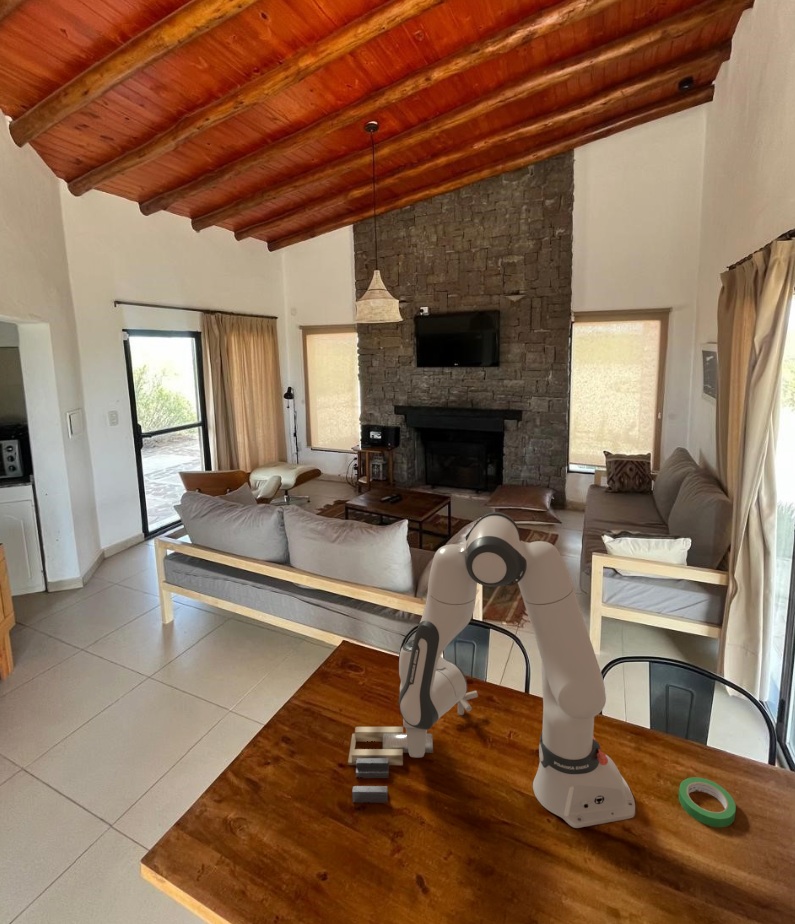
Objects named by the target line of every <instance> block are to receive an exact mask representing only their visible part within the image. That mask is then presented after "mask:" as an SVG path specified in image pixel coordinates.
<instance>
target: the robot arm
mask: <svg viewBox="0 0 795 924" xmlns="http://www.w3.org/2000/svg"><path fill="white" fill-rule="evenodd" d="M514 520H515V519H513V518H512V517H511V516H509V515H508V514H506V513H504V512H501V511H493V512H489V513H486V514H484V515H483V516H482V517H480V518H479V519H478V520H477V521H476V522H475V524H474V525H473V526H472V528H471V529H470V530H469V531H468V532H467V534H466V535H465V542H464V543H461V544H457V543H452V544H451V543H450V544H446V545H443V546H441V547H439V548H438V549H437V550H436V551H435V553H434V555H433V558H432V562H431V567H430V571H429V575H428V582H427V583H428V585H427V594H426V601H425V605H424V608H423V613H422V616H421V618H420V621H419V624H418V626H417V629H416V631H415V635H414V639H412V640H410V641H408V642H406V643H405V644H403V646H402V647H401V649H400V652H399V662H398V672H399V673H398V674H399V679H400V684H399V685H400V686H399V695H398V697H399V698H398V706H399V712H400V714H401V717H402V724H403V725H402V727H403V728H405V734H406V736H407V744H408V752H409V753H408V754H409V756H410V757H411V758H423V757H424V756H425V746H426V736H427V734H428V730H430V729H431V728H432V727H433V726H434V725H435V724H436V723H437V722H438V721H439V720H440V718H441V717H443V716H444V715H445V714H446V713H447V712H449V711H450V710H451V709H453V707H454V706H455V705H456V704H458V702H459V701H460V700H461V699H462V698H463V697H464V696H465V695H466V693H468V683H467V682H468V681H467V678H466V676H465V673H464V671H463V670H462V669H461V668H460V666H458V665H457V664H455V663H454V662H451V661H449V660H446V659H445V658H443V657H442V656H441V655H442V653H443V652H444V651H445V649H446V648H447V646H448V645H449V644H450V643H451V642H452V641H453V640H454V639H455V638H456V637H457V636H458V635H459V634H460V633H461V632H462V631H463V630H464V629H465V628H466V627H467V626H468V625H469V623H470V621H472V617H473V614H474V610H475V607H476V601H477V588H478V584H479V585H482V586H485V587H489V588H490V587H491V588H493V587H496V588H497V587H503V586H510V587H511V586H512V587H513V586H515V585H516V584H517V585H518V588H519V591H520V594H521V597H522V601H523V603H524V604H523V605H524V607H525V610H526V612H527V616H528V619H529V622H530V624H531V628H532V631H533V635H534V639H535V641H536V645H537V648H538V652H539V656H540V658H541V687H542V701H543V702H542V707H543V708H542V709H543V711H542V731H541V733H540V737H539V746H538V752H539V753H538V755H539V764H538V768H537V771H536V775H535V776H534V779H533V782H532V789H533V790H532V791H533V793H534V795H535V798H536V799H537V801H538V802H539V803H540V805H541V806H543V808H545V810H547V811H549V812H550V813H552V814H554V815H556V816H558V817H559V818H561V819H563V820H564V821H565V823H567V824H568V825H569V826H570V827H572V828H574V829H580V828H584V827H591V826H596V825H597V826H598V825H602V824H607V823H612V822H618V821H624V820H628V819H633V818H634V817H635V816H636V803H635V802H636V801H635V798H634V796H633V793H632V790H631V789H630V786H629V785H628V783H627V781H626V780H625V778H624V777H623V775H622V774H621V773H620V770H619V769H618V766H617V765H616V764H615V762H614V761H613V760H612V758H611V757H609V755H607V754H606V753H605V752H603V751H601V746H600V744H599V742H598V741H597V740H596V738H595V736H594V726H595V717H596V716H598V715H599V714H600V713H601V712H602V711H603V710H604V708H605V706H606V702H607V701H606V700H607V697H606V695H607V694H606V687H605V682H604V681H605V680H604V678H603V674H602V672H601V668H600V665H599V663H598V659H597V656H596V653H595V652H596V651H595V650H594V647H593V643H592V641H591V638H590V635H589V632H588V629H587V626H586V623H585V621H584V618H583V615H582V611H581V607H580V603H579V601H578V597H577V595H576V594H577V593H576V591H575V587H574V584H573V581H572V578H571V576H570V573H569V569H568V567H567V565H566V563H565V561H564V559H563V557H562V555H561V553H560V551H559V550H558V548H557V547H556V546H555V545H553V544H552V543H550V542H548V541H545V540H543V541H541V540H536V541H532V542H527V541H523V540H520V539H521V534H520V533H521V532H520V529H519V527H518V525H517V523H516V521H514Z"/></svg>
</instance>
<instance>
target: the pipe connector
mask: <svg viewBox="0 0 795 924" xmlns="http://www.w3.org/2000/svg"><path fill="white" fill-rule="evenodd" d="M478 697H479V693H478V691H477V690H473V691H469V692H467V693H466V695H465V696H464V697H463V698H462V699H461V700H460V701H459V702H457V714H458V715H459V716H463V715H464V714H465V711H466V712H467V713H468V712H471V710H472V706H471V704H470V703H469V700H472V699H475V698H478Z"/></svg>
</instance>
